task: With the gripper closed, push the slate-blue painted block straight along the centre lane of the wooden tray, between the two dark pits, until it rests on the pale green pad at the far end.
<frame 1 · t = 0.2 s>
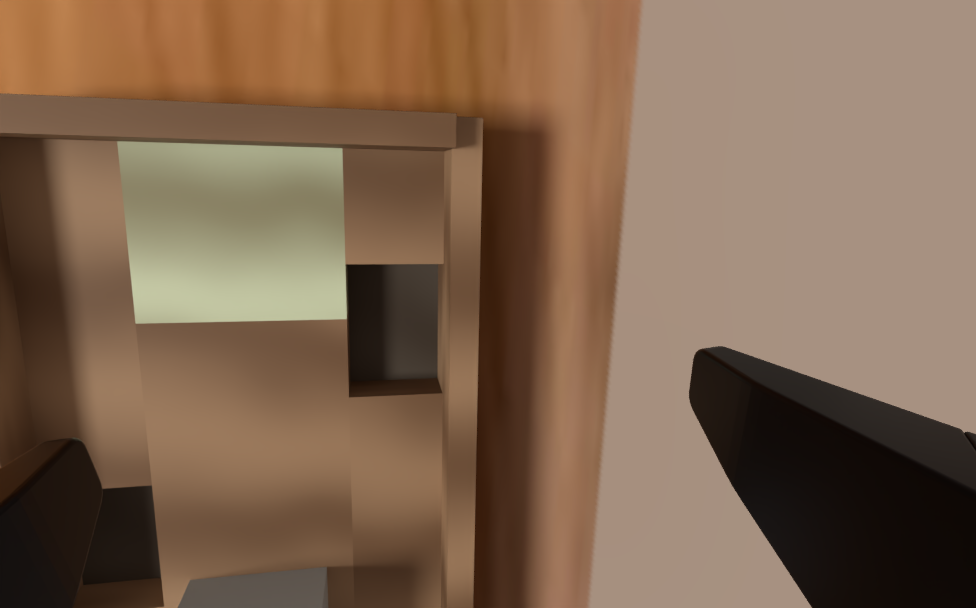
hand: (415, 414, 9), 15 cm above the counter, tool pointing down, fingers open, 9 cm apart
wooden tray: (262, 431, 24), on the counter
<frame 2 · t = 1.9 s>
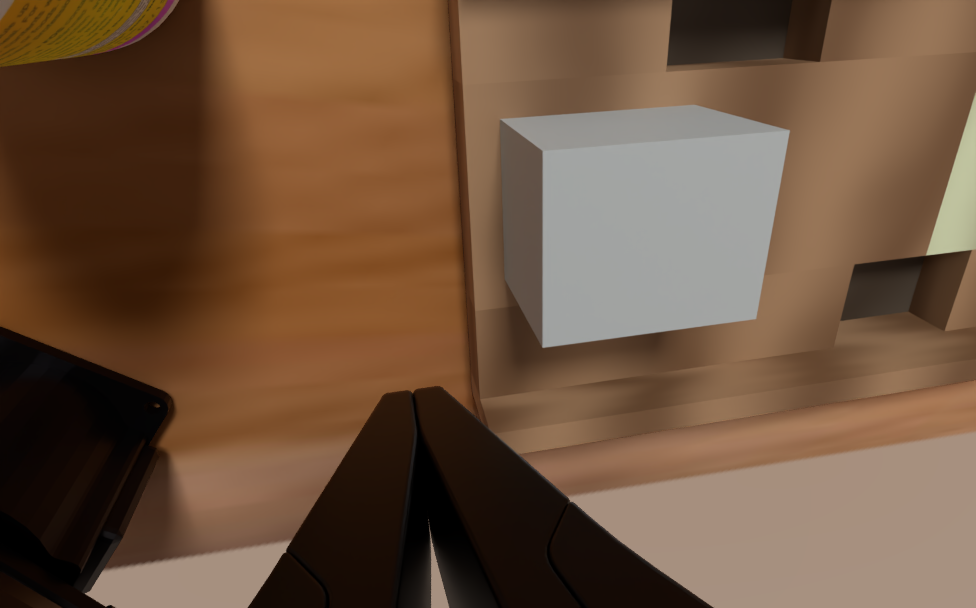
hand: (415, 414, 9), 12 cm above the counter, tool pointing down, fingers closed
wooden tray: (787, 160, 22), on the counter
block: (596, 194, 19), point 2 cm above the counter, touching wooden tray
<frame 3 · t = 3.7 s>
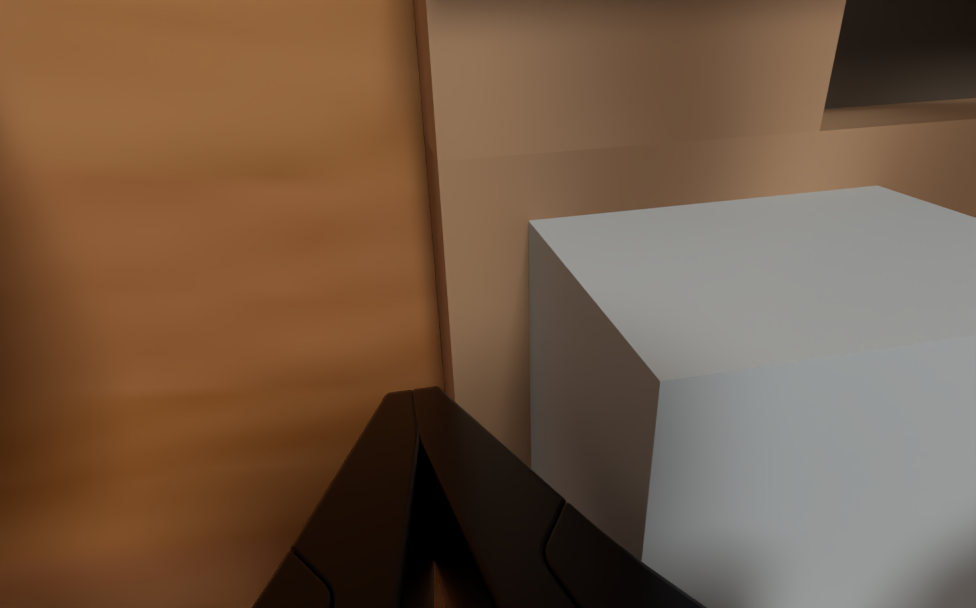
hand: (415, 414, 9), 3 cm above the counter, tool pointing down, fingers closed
wooden tray: (964, 255, 14), on the counter
block: (693, 338, 11), point 2 cm above the counter, touching gripper
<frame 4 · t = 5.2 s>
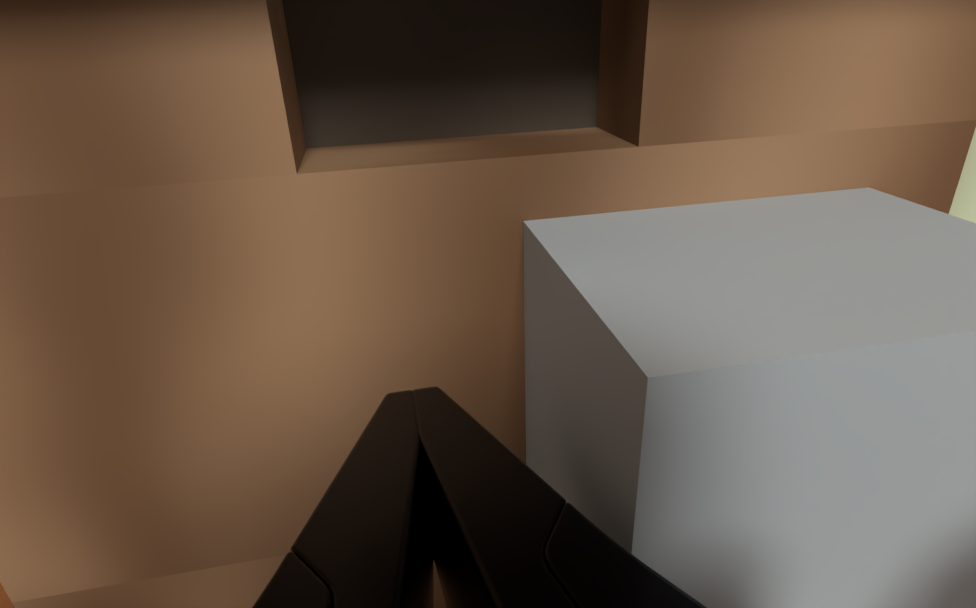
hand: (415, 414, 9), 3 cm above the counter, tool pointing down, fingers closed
wooden tray: (631, 294, 12), on the counter
block: (687, 338, 11), point 2 cm above the counter, touching gripper
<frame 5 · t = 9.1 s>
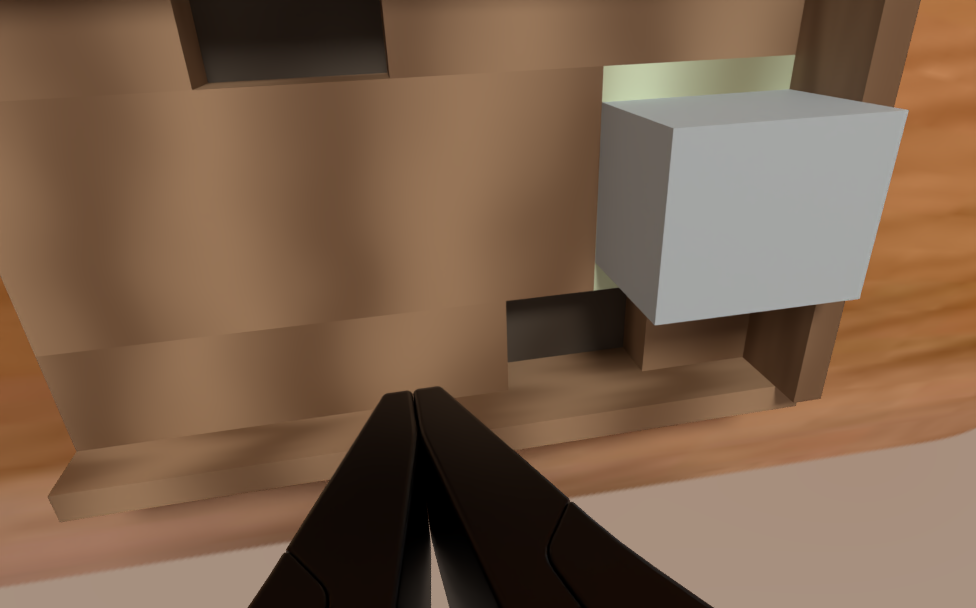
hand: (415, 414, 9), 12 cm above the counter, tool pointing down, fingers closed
wooden tray: (429, 185, 19), on the counter
block: (688, 178, 19), point 2 cm above the counter, touching wooden tray
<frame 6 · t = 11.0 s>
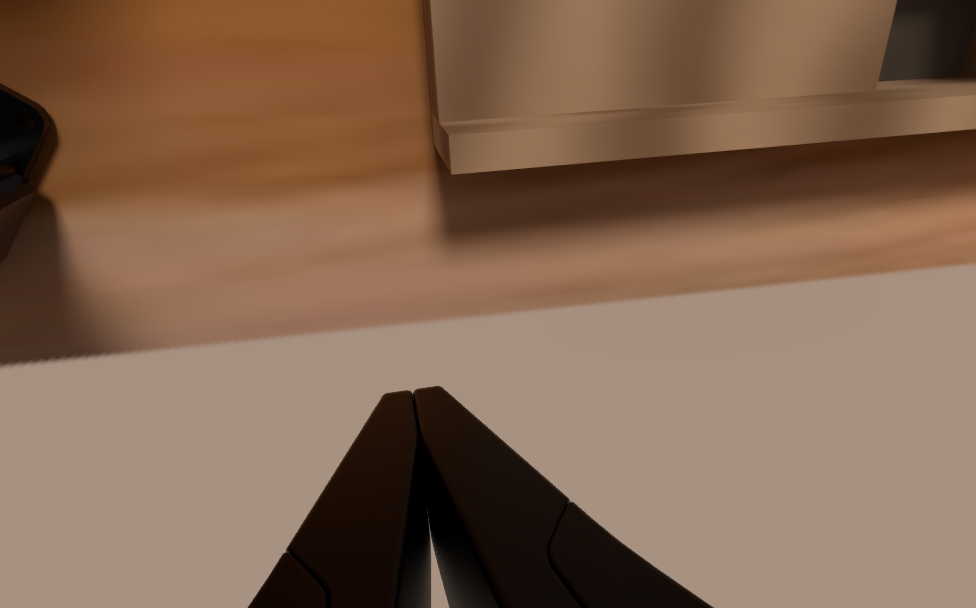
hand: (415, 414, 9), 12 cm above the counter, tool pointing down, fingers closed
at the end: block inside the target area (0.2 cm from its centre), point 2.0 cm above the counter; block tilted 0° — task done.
